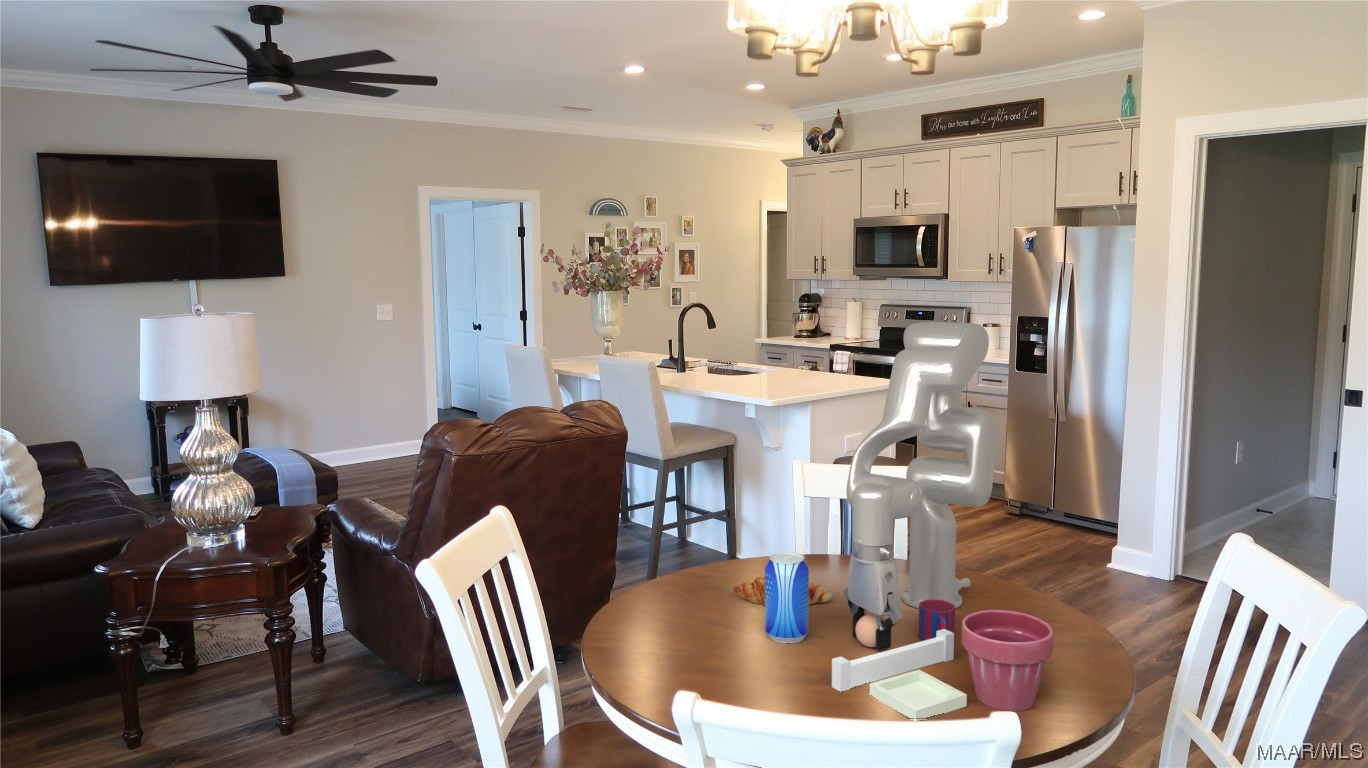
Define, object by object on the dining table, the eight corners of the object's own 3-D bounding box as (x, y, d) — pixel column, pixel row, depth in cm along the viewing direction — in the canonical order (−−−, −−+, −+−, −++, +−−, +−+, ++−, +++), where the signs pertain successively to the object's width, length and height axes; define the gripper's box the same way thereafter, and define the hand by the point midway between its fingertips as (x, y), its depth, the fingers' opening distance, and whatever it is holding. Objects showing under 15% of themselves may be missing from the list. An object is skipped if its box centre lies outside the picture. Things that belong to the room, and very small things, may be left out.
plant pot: (1003, 727, 142) (1006, 648, 140) (942, 690, 154) (943, 618, 153) (1070, 707, 148) (1073, 632, 146) (1005, 674, 160) (1007, 604, 159)
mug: (952, 633, 179) (953, 600, 178) (957, 654, 169) (958, 619, 168) (917, 631, 180) (918, 598, 179) (920, 652, 170) (921, 617, 169)
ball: (873, 637, 177) (873, 607, 176) (894, 648, 172) (894, 617, 171) (848, 643, 174) (849, 613, 174) (869, 654, 169) (869, 623, 168)
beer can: (806, 646, 173) (807, 565, 171) (762, 643, 175) (762, 562, 173) (809, 629, 181) (810, 551, 180) (767, 627, 183) (767, 549, 181)
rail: (943, 654, 169) (944, 628, 168) (953, 659, 167) (954, 633, 166) (831, 686, 156) (831, 658, 156) (840, 692, 154) (840, 664, 154)
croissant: (830, 613, 199) (830, 577, 202) (833, 607, 190) (833, 569, 193) (733, 609, 202) (735, 572, 204) (732, 602, 192) (733, 564, 195)
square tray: (918, 680, 158) (919, 669, 158) (966, 706, 149) (966, 694, 149) (869, 695, 153) (869, 683, 153) (915, 722, 143) (915, 710, 143)
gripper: (919, 559, 165) (918, 654, 167) (858, 535, 180) (857, 623, 182) (888, 566, 161) (886, 663, 164) (827, 541, 177) (827, 631, 179)
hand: (871, 641), depth 173 cm, fingers closed on ball, 5 cm apart
